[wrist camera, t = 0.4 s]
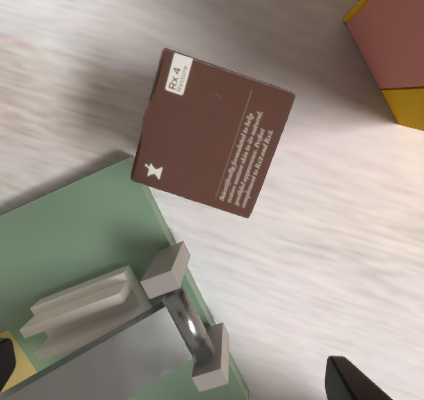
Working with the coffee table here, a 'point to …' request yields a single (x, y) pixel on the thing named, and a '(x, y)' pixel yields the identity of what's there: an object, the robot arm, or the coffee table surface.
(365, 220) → the coffee table surface
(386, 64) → the alarm clock
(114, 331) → the grey hinged lever
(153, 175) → the box
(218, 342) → the board
